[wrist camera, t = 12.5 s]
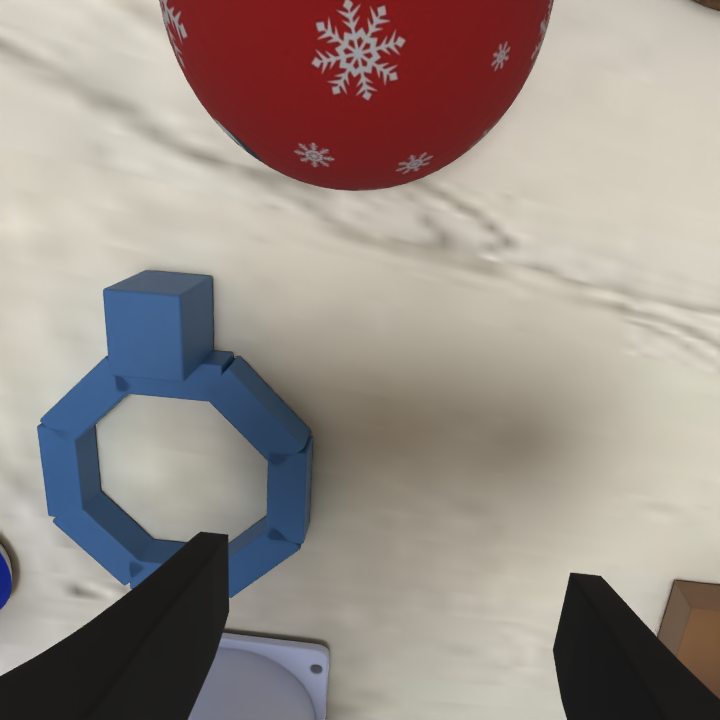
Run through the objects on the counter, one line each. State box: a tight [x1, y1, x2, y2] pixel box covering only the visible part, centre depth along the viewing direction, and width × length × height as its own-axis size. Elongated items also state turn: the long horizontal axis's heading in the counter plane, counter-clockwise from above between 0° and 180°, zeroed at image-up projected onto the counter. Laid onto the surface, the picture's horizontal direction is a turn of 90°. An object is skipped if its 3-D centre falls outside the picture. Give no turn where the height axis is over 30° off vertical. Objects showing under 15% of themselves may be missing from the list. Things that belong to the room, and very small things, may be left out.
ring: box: [37, 270, 313, 598], centre depth 21 cm, size 12×10×3 cm
